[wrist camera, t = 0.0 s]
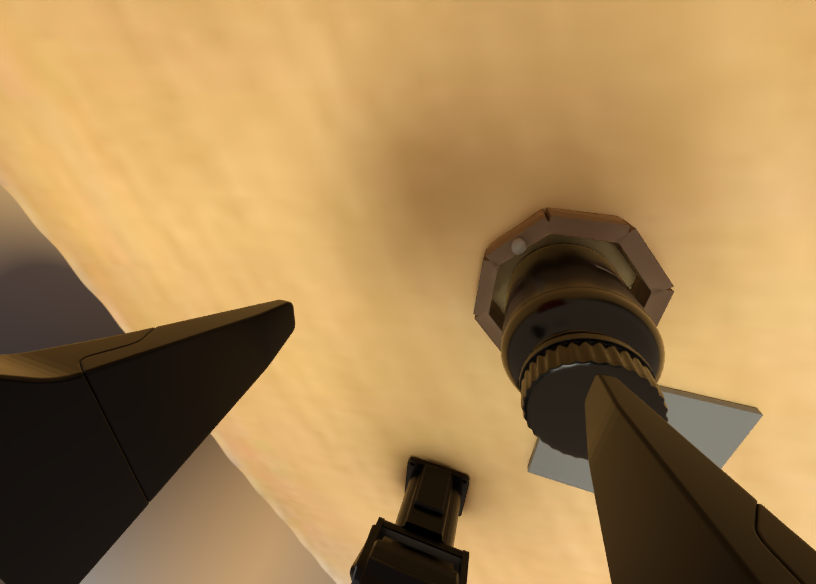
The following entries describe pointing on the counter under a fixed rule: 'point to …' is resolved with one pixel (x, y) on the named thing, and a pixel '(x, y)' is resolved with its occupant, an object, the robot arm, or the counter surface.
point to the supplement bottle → (575, 341)
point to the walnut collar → (650, 279)
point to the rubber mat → (687, 413)
